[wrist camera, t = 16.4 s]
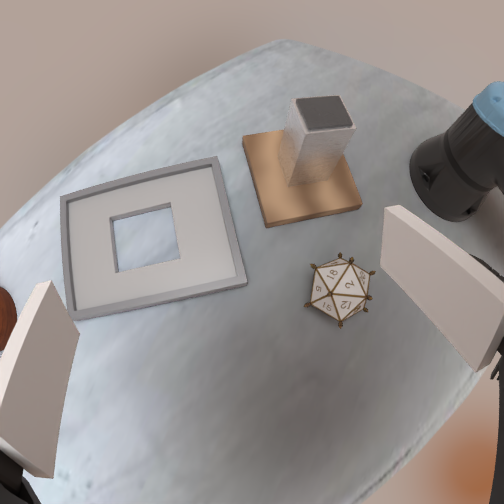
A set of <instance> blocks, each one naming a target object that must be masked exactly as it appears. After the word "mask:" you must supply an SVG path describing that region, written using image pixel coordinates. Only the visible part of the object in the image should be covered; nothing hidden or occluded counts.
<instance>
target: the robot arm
mask: <svg viewBox="0 0 504 504" xmlns="http://www.w3.org/2000/svg"><path fill="white" fill-rule="evenodd" d="M410 174H411V178H412V182H413V184H414V187H415V189H416V191H417V193H418V195H419V196H420V198H421V199H422V201H423V202H424V203H425V204H426V205H427V207H428V208H429V209H430V210H432V211H433V212H434V213H435V214H437V215H438V216H440V217H441V218H443V219H446V220H449V221H454V222H459V221H463V220H465V219H467V218H469V217H470V216H472V215H473V214H475V213H476V212H477V210H478V209H479V208H480V206H481V205H482V203H483V201H484V200H485V198H486V197H487V195H488V193H489V192H490V190H492V189H493V188H495V187H496V186H498V188H499V189H500V190H501V192H502V193H503V194H504V82H500V81H499V82H493V83H491V84H489V85H488V86H487V87H486V88H485V89H484V90H483V91H482V92H481V93H480V94H478V95H476V96H475V98H474V99H473V103H472V104H471V105H470V106H469V107H468V108H467V109H466V110H465V112H464V113H463V114H462V115H461V116H460V117H459V118H458V119H457V120H456V121H455V122H454V123H453V125H452V126H451V127H450V128H449V129H448V130H447V131H446V132H445V133H442V134H440V135H437V136H435V137H432V138H430V139H428V140H426V141H424V142H423V143H421V144H420V145H419V147H418V148H417V149H416V150H415V151H414V153H413V154H412V157H411V160H410ZM380 266H381V267H382V269H383V270H384V271H385V272H386V273H387V274H388V275H389V276H390V277H391V278H392V279H393V280H394V281H395V282H396V283H397V284H398V285H399V286H400V287H401V288H402V289H403V291H404V292H405V293H406V294H407V295H408V296H409V297H410V298H411V299H412V300H413V301H414V302H415V303H416V305H417V306H418V307H419V308H420V309H421V310H422V311H423V312H424V313H425V314H426V316H427V317H428V318H429V319H430V320H431V321H432V322H433V323H434V325H435V326H436V327H437V328H438V329H439V330H440V331H441V333H442V334H443V335H444V336H445V337H446V338H447V339H448V341H449V342H450V343H451V344H452V345H453V346H454V348H455V349H456V350H457V351H458V352H459V354H460V355H461V356H462V357H463V358H464V360H465V361H466V362H467V363H468V364H469V366H470V367H471V368H472V369H473V371H474V372H475V373H476V372H478V371H479V370H481V369H482V368H484V367H485V366H487V365H489V364H490V363H491V361H492V359H493V357H494V355H495V353H496V352H497V351H498V352H499V353H500V354H501V355H502V356H501V358H500V360H499V362H498V363H497V365H496V367H495V369H494V370H493V372H492V374H491V379H494V377H495V375H496V374H497V372H498V371H499V376H498V378H497V380H499V389H500V390H499V394H500V396H499V429H498V444H497V455H496V464H495V471H494V479H493V485H492V491H491V496H490V502H489V504H504V277H503V276H500V275H499V273H498V272H497V271H495V270H494V269H493V270H492V267H490V266H489V265H488V264H487V263H485V262H484V261H483V260H481V259H479V258H477V257H475V256H473V255H470V254H468V253H466V252H465V251H464V250H462V249H461V248H460V247H459V246H457V245H456V244H455V243H453V242H452V241H451V240H449V239H448V238H446V237H445V236H444V235H442V234H441V233H440V232H438V231H437V230H435V229H434V228H433V227H431V226H430V225H428V224H427V223H426V222H424V221H423V220H421V219H420V218H418V217H417V216H415V215H414V214H413V213H411V212H410V211H408V210H407V209H405V208H404V207H402V206H401V205H396V206H390V207H385V208H384V224H383V237H382V249H381V260H380ZM79 336H80V333H79V331H78V330H77V328H76V326H75V324H74V323H73V321H72V319H71V317H70V315H69V313H68V312H67V310H66V308H65V306H64V304H63V302H62V300H61V298H60V296H59V294H58V292H57V290H56V288H55V286H54V284H53V282H52V280H51V281H46V282H42V283H38V284H36V286H35V287H34V289H33V291H32V293H31V295H30V297H29V299H28V301H27V303H26V305H25V307H24V309H23V311H22V313H21V315H20V317H19V319H18V321H17V323H16V325H15V327H14V329H13V331H12V333H11V336H10V338H9V340H8V342H7V345H6V347H5V349H4V352H3V354H2V356H1V359H0V504H41V502H40V501H39V499H38V498H37V496H36V494H35V492H34V491H33V489H32V487H31V485H30V484H29V482H28V481H27V480H26V478H24V477H23V476H22V474H23V469H25V470H26V471H27V472H29V473H30V474H31V475H33V476H34V477H40V478H52V479H53V478H54V468H55V459H56V451H57V443H58V436H59V430H60V423H61V417H62V412H63V406H64V401H65V396H66V391H67V386H68V381H69V377H70V372H71V368H72V363H73V359H74V355H75V351H76V347H77V343H78V339H79Z"/></svg>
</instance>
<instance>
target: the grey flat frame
mask: <svg viewBox="0 0 504 504" xmlns="http://www.w3.org/2000/svg"><path fill="white" fill-rule="evenodd" d="M168 207H171V208H172V214H173V220H174V226H175V231H176V237H177V242H178V248H179V253H180V259H175V260H171V261H166V262H162V263H158V264H153V265H149V266H144V267H140V268H136V269H131V270H127V271H122V272H118V264H117V257H116V248H115V240H114V230H113V221H115V220H119V219H123V218H126V217H130V216H134V215H138V214H143V213H147V212H151V211H155V210H159V209H163V208H168ZM60 224H61V248H62V263H63V275H64V285H65V294H66V303H67V310H68V313H69V315H70V317H71V319H72V320H73V321H80V320H86V319H91V318H96V317H101V316H106V315H111V314H116V313H121V312H126V311H131V310H136V309H141V308H146V307H151V306H155V305H160V304H165V303H170V302H174V301H179V300H184V299H188V298H193V297H197V296H202V295H206V294H211V293H215V292H220V291H224V290H229V289H233V288H238V287H242V286H246V285H247V278H246V274H245V270H244V266H243V262H242V258H241V253H240V249H239V245H238V241H237V237H236V233H235V229H234V225H233V220H232V216H231V212H230V208H229V204H228V199H227V195H226V191H225V187H224V183H223V178H222V174H221V170H220V166H219V161H218V157H217V156H215V157H210V158H205V159H200V160H195V161H191V162H186V163H182V164H177V165H173V166H168V167H164V168H160V169H156V170H152V171H148V172H144V173H140V174H136V175H132V176H128V177H125V178H121V179H117V180H114V181H110V182H106V183H103V184H100V185H96V186H93V187H89V188H86V189H83V190H79V191H76V192H73V193H70V194H67V195H64V196H60Z"/></svg>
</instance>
